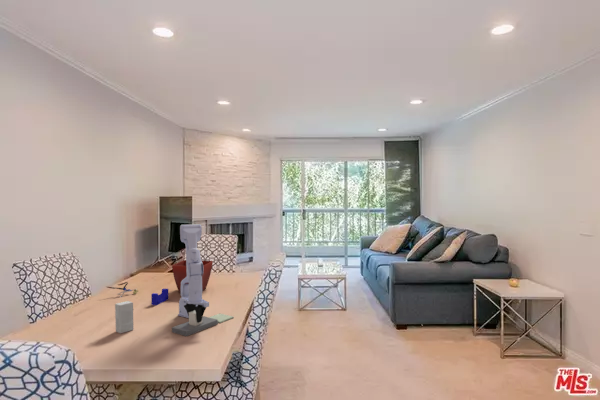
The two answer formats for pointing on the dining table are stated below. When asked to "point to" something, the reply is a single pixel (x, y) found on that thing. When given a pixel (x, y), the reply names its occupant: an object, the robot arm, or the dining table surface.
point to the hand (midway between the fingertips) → (195, 320)
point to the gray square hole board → (190, 329)
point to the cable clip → (159, 297)
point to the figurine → (125, 289)
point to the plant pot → (180, 273)
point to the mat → (221, 317)
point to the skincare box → (124, 316)
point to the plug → (193, 319)
